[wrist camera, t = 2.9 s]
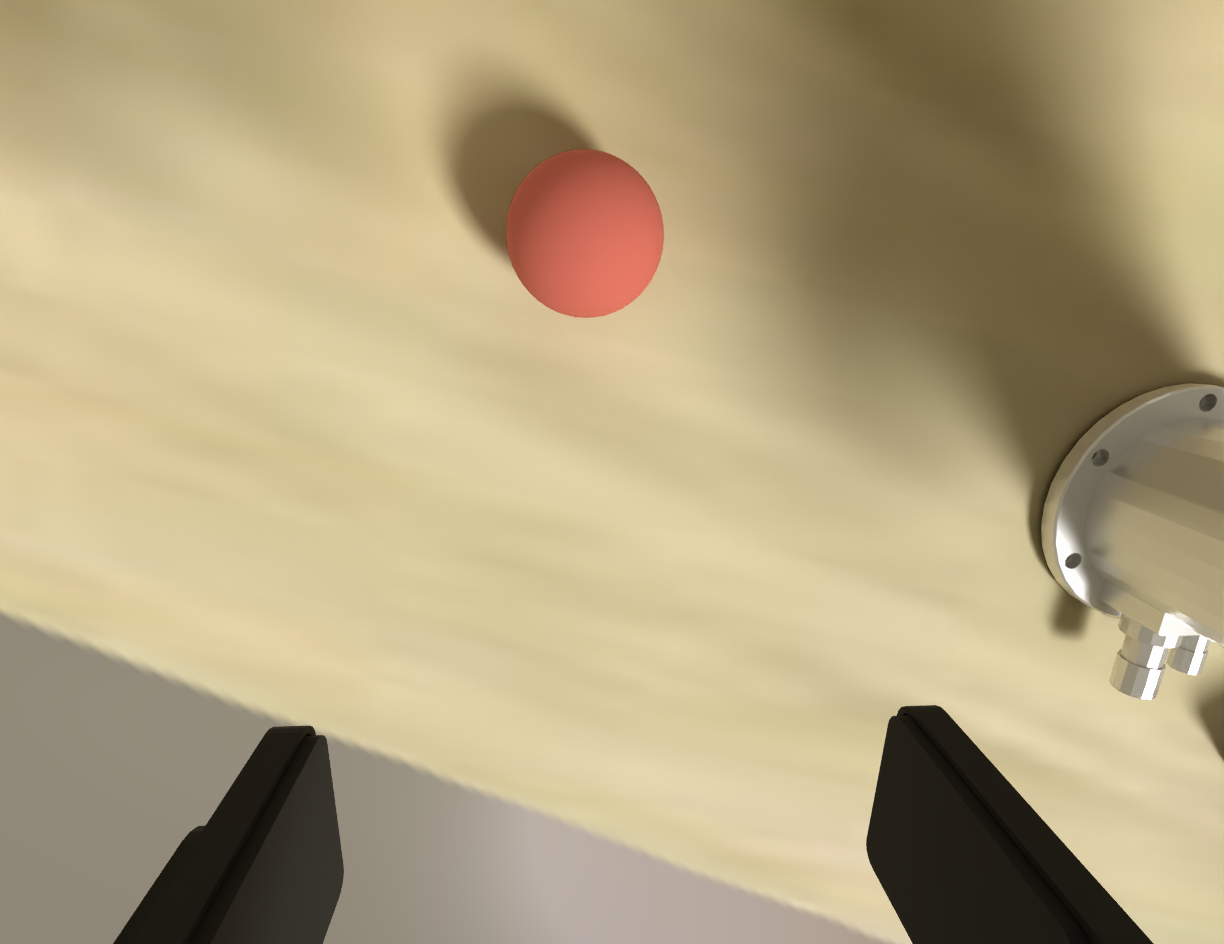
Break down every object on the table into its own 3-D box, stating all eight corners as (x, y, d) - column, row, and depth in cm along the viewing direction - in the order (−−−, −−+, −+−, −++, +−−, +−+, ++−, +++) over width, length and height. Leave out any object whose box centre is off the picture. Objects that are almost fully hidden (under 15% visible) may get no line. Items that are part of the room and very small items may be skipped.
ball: (649, 315, 28) (671, 324, 22) (514, 312, 27) (501, 320, 22) (655, 167, 26) (681, 136, 20) (511, 162, 26) (495, 128, 20)
